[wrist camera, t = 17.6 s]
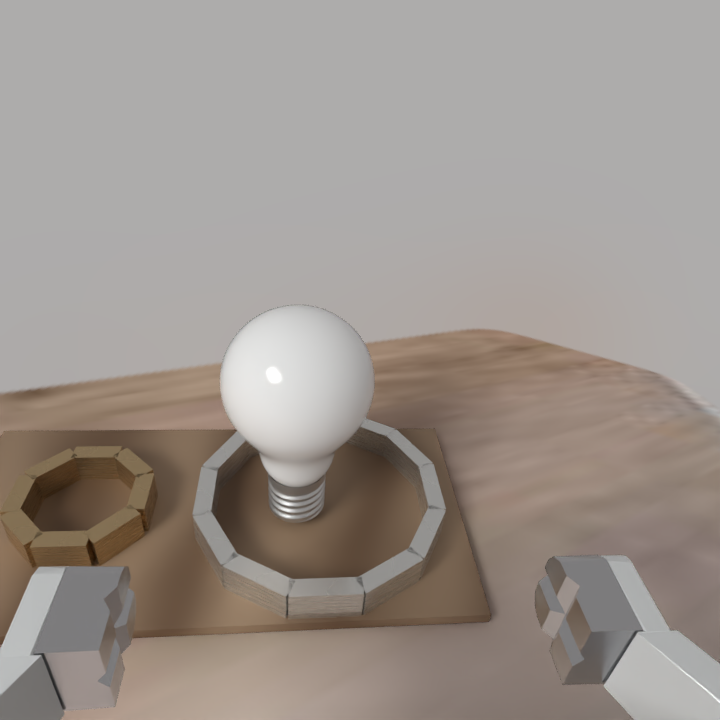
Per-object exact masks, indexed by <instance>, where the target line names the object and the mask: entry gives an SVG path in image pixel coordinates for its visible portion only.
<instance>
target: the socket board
mask: <svg viewBox="0 0 720 720" xmlns="http://www.w3.org/2000/svg"><path fill="white" fill-rule="evenodd" d="M268 486H269V485H268V473H267V471H266V470H265V468H264V466H263V464H262V461H261V458H260V455H259V452H258V450H257V449H255V448H254V447H253V446H252V445H250V444H249V443H248V442H247V441H246V440H245V439H244V438H243V437H242V436H241V435H240V434H239V433H238V431H237V430H109V431H4V432H3V434H2V435H1V437H0V644H3V642H4V639H5V637H6V635H7V632H8V630H9V628H10V625H11V623H12V621H13V618H14V616H15V614H16V611H17V609H18V607H19V605H20V602H21V600H22V598H23V595H24V593H25V591H26V588H27V586H28V584H29V581H30V579H31V577H32V575H33V574H34V573H35V571H36V570H37V569H38V568H39V567H50V566H128V567H129V571H130V575H131V580H130V584H129V589H131V590H132V591H134V593H135V599H136V618H135V626H134V632H133V636H132V638H142V637H164V636H186V635H208V634H229V633H251V632H273V631H295V630H317V629H339V628H361V627H383V626H405V625H426V624H448V623H470V622H489V620H490V617H491V613H490V610H489V606H488V603H487V600H486V596H485V593H484V590H483V586H482V583H481V580H480V576H479V573H478V570H477V567H476V563H475V560H474V557H473V553H472V550H471V547H470V543H469V540H468V537H467V533H466V530H465V527H464V524H463V520H462V517H461V514H460V510H459V507H458V504H457V500H456V497H455V494H454V490H453V487H452V484H451V480H450V477H449V474H448V471H447V467H446V464H445V461H444V457H443V454H442V451H441V447H440V444H439V441H438V437H437V434H436V431H435V429H395V428H392V427H389V426H386V425H383V424H380V423H377V422H375V421H372V420H369V419H366V418H365V420H364V422H363V423H362V425H361V426H360V428H359V429H358V430H357V432H356V433H355V434H354V435H353V436H352V437H351V438H350V439H349V440H348V441H347V442H346V443H345V444H344V445H342V446H341V447H340V448H339V449H337V450H336V452H335V455H334V458H333V461H332V464H331V466H330V468H329V469H328V471H327V472H326V480H325V499H324V506H323V509H322V510H321V512H320V513H319V514H318V515H317V516H316V517H314V518H313V519H311V520H308V521H305V522H300V523H291V522H286V521H283V520H281V519H279V518H278V517H276V516H275V515H274V514H273V513H272V511H271V509H270V507H269V490H268Z"/></svg>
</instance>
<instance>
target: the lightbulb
mask: <svg viewBox="0 0 720 720" xmlns="http://www.w3.org/2000/svg"><path fill="white" fill-rule="evenodd" d="M374 388H375V374H374V367H373V363H372V359H371V356H370V353H369V351H368V349H367V347H366V345H365V343H364V341H363V340H362V338H361V337H360V335H359V334H358V333H357V332H356V331H355V329H354V328H353V327H352V326H350V325H349V324H348V323H347V322H346V321H345V320H343V319H342V318H340V317H339V316H337V315H335V314H333V313H332V312H329V311H327V310H324V309H321V308H318V307H314V306H309V305H287V306H282V307H277V308H274V309H271V310H268V311H266V312H264V313H261V314H260V315H258V316H256V317H255V318H253V319H252V320H250V321H249V322H248V323H247V324H246V325H245V326H243V327H242V328H241V329H240V331H239V332H238V333H237V334H236V335H235V337H234V338H233V340H232V341H231V343H230V345H229V346H228V348H227V350H226V353H225V355H224V359H223V362H222V366H221V371H220V393H221V398H222V403H223V406H224V409H225V411H226V414H227V416H228V418H229V420H230V421H231V423H232V425H233V426H234V428H235V429H236V430H237V431H238V433H239V434H240V435H241V436H242V437H243V438H244V439H245V440H246V441H247V442H248V443H249V444H250V445H252V446H253V447H254V448H255V449H257V450H258V452H259V455H260V458H261V461H262V464H263V466H264V468H265V470H266V471H267V473H268V485H269V486H268V490H269V507H270V509H271V511H272V513H273V514H274V515H275V516H276V517H278V518H279V519H281V520H283V521H286V522H291V523H300V522H305V521H308V520H311V519H313V518H314V517H316V516H317V515H318V514H319V513H320V512H321V510H322V509H323V506H324V499H325V480H326V472H327V471H328V469H329V468H330V466H331V464H332V461H333V458H334V455H335V452H336V450H337V449H339V448H340V447H341V446H342V445H344V444H345V443H346V442H347V441H348V440H349V439H350V438H351V437H352V436H353V435H354V434H355V433H356V432H357V430H358V429H359V428H360V426H361V425H362V423H363V422H364V420H365V418H366V416H367V414H368V412H369V410H370V407H371V404H372V400H373V396H374Z"/></svg>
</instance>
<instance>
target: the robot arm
mask: <svg viewBox="0 0 720 720" xmlns="http://www.w3.org/2000/svg"><path fill="white" fill-rule="evenodd" d="M545 569H546V572H547V574H548V575H547V576H546V577H545V578H543V579H542V580H540V581H539V583H538V586H537V588H536V591H535V608H536V613H537V617H538V620H539V623H540V626H541V629H542V630H543V631H544V632H545V633H546V634H547V635H549V636H550V637H551V638H552V639H553V642H552V645H551V648H550V653H551V656H552V658H553V661H554V664H555V666H556V669H557V672H558V674H559V677H560V680H561V682H562V685H571V684H604V687H605V688H606V690H607V691H608V692H609V693H610V694H611V695H612V696H613V697H614V698H615V699H616V701H617V702H618V703H619V704H620V705H621V706H622V707H623V708H624V709H625V710H626V711H627V713H628V714H629V715H630V716H631V717H632V718H633V719H634V720H720V663H718V662H717V661H716V660H715V659H713V658H712V657H711V656H709V655H708V654H707V653H706V652H704V651H703V650H702V649H701V648H699V647H698V646H697V645H696V644H694V643H693V642H692V641H691V640H689V639H688V638H687V637H685V636H684V635H683V634H682V633H680V632H679V631H678V630H670V628H669V627H668V625H667V623H666V621H665V620H664V618H663V616H662V614H661V613H660V611H659V609H658V607H657V606H656V604H655V602H654V600H653V599H652V597H651V595H650V593H649V592H648V590H647V588H646V586H645V585H644V583H643V581H642V579H641V578H640V576H639V574H638V572H637V571H636V569H635V567H634V565H633V564H632V562H631V560H630V559H629V558H628V557H626V556H625V555H604V556H599V555H580V556H554V557H552V558H550V559H549V560H548V562H547V564H546V566H545ZM130 580H131V575H130V571H129V567H128V566H50V567H39V568H38V569H37V570H36V571H35V573H34V574H33V575H32V577H31V579H30V581H29V584H28V586H27V588H26V591H25V593H24V595H23V598H22V600H21V602H20V605H19V607H18V609H17V611H16V614H15V616H14V618H13V621H12V623H11V625H10V628H9V630H8V632H7V635H6V637H5V639H4V642H3V644H2V646H1V649H0V720H60V719H61V718H62V717H63V716H64V711H71V710H84V709H97V708H110V707H115V706H116V702H117V698H118V694H119V690H120V686H121V682H122V678H123V674H124V670H125V668H124V664H123V659H122V655H121V654H122V653H123V652H124V651H125V650H126V649H127V648H128V647H129V646H130V645H131V641H132V636H133V632H134V626H135V618H136V599H135V593H134V591H132V590H131V589H129V584H130Z"/></svg>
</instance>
